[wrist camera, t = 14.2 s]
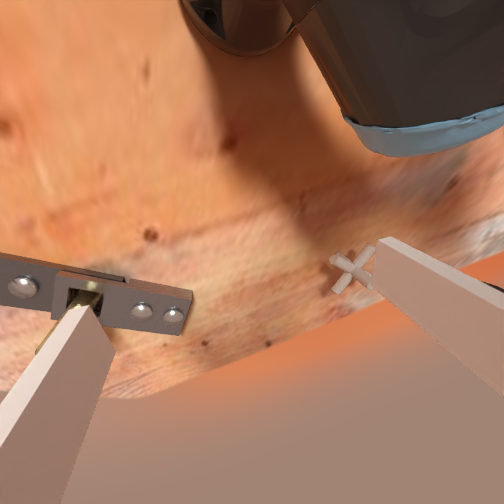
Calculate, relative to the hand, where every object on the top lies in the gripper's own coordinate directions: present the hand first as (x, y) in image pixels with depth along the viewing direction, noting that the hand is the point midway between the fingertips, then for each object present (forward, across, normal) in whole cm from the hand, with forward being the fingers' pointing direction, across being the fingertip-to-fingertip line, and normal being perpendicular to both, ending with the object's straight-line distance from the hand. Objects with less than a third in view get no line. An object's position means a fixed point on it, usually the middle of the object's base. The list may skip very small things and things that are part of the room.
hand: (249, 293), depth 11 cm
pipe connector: (+27, +21, -17) cm, 38 cm away
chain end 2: (+27, -17, -16) cm, 35 cm away
